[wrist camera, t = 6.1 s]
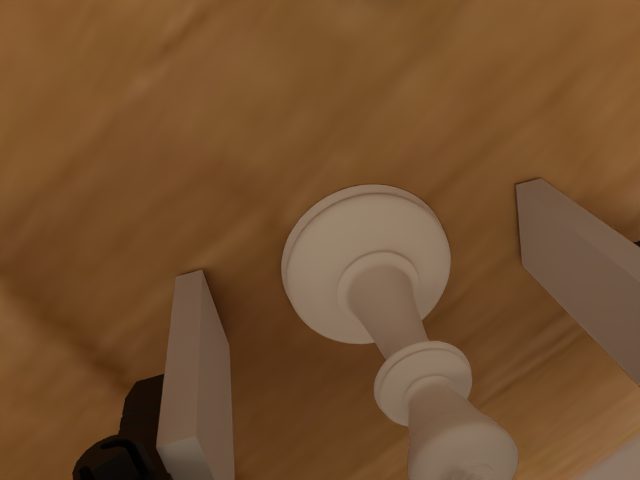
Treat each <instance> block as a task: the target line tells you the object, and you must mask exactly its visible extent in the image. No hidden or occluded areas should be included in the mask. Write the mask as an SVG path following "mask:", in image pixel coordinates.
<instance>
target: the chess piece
mask: <svg viewBox="0 0 640 480" xmlns="http://www.w3.org/2000/svg"><path fill="white" fill-rule="evenodd" d="M450 267H451V255H450V248H449V243H448V240H447V237H446V235H445V233H444V231H443V228H442V225H441V223H440V221H439V220H438V218H437V216H436V215H435V213H434V212H433V211H432V209H431V208H430V207H429V206H428V205H427V204H426V203H425V202H423V201H422V200H421V199H420V198H418V197H417V196H415V195H413V194H411V193H409V192H407V191H405V190H402V189H400V188H396V187H393V186H388V185H379V184H367V185H358V186H353V187H349V188H346V189H343V190H340V191H337V192H335V193H333V194H331V195H329V196H327V197H325V198H323V199H322V200H320V201H319V202H317V203H316V204H315V205H313V206H312V207H311V208H310V209H309V210H308V211H307V212H306V213H305V214H304V215H303V216H302V217H301V218H300V219H299V221H298V222H297V223H296V225H295V226H294V228H293V229H292V231H291V233H290V235H289V237H288V239H287V241H286V244H285V247H284V250H283V255H282V261H281V275H282V282H283V286H284V289H285V292H286V294H287V296H288V298H289V300H290V302H291V304H292V306H293V308H294V310H295V311H296V313H297V314H298V316H299V317H300V318H301V319H302V320H303V322H304V323H305V324H307V325H308V326H309V327H310V328H311V329H313V330H314V331H315V332H317V333H319V334H320V335H322V336H324V337H327V338H329V339H332V340H335V341H339V342H343V343H350V344H368V343H375V344H376V345H377V347H378V348H379V350H380V351H381V353H382V354H383V356H384V358H385V360H386V361H385V362H384V363H383V365H382V366H381V367H380V369H379V371H378V373H377V375H376V378H375V381H374V397H375V401H376V403H377V405H378V407H379V408H380V409H381V410H382V412H383V413H385V415H386V416H387V417H388V418H389V419H391V420H392V421H394V422H395V423H397V424H399V425H403V426H406V427H408V433H409V450H408V456H407V469H408V479H409V480H512V479H513V477H514V475H515V472H516V469H517V466H518V450H517V447H516V444H515V442H514V440H513V439H512V437H511V436H510V435H509V433H508V432H507V431H506V430H505V429H504V428H503V427H501V426H500V425H499V424H498V423H497V422H495V421H494V420H493V419H492V418H490V417H488V416H487V415H485V414H483V413H482V412H480V411H479V410H478V409H476V408H475V407H474V406H473V405H472V404H471V403H470V402H469V401H468V400H467V398H468V396H469V394H470V391H471V387H472V375H471V367H470V364H469V361H468V359H467V357H466V356H465V355H464V354H463V352H462V351H460V350H459V349H458V348H457V347H455V346H453V345H451V344H449V343H445V342H441V341H429V340H428V338H427V335H426V332H425V329H424V326H423V323H422V320H423V319H424V318H425V317H426V316H427V315H428V314H429V313H430V312H431V310H432V309H433V308H434V307H435V305H436V304H437V303H438V301H439V299H440V298H441V296H442V294H443V292H444V290H445V287H446V285H447V282H448V278H449V274H450Z"/></svg>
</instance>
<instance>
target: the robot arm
mask: <svg viewBox="0 0 640 480" xmlns="http://www.w3.org/2000/svg"><path fill="white" fill-rule="evenodd" d="M516 194H517V206H518V219H519V232H520V245H521V258H522V266H523V267H524V268H525V269H526V270H527V271H528V272H529V273H530V274H531V275H532V276H533V278H534V279H535V280H536V281H537V282H538V283H539V284H540V285H541V286H542V287H543V288H544V289H545V290H546V291H547V292H548V293H549V294H550V295H551V296H552V297H553V298H554V299H555V300H556V301H557V302H558V303H559V304H560V305H561V306H562V307H563V308H564V309H565V311H566V312H567V313H568V314H569V315H570V316H571V317H572V318H573V319H574V320H575V321H576V322H577V323H578V324H579V325H580V326H581V327H582V328H583V329H584V330H585V331H586V332H587V333H588V334H589V335H590V336H591V337H592V338H593V339H594V340H595V341H596V342H597V344H598V345H599V346H600V347H601V348H602V349H603V350H604V351H605V352H606V353H607V354H608V355H609V356H610V357H611V358H612V359H613V360H614V361H615V362H616V363H617V364H618V365H619V366H620V367H621V368H622V369H623V370H624V371H625V372H626V373H627V374H628V375H629V376H630V378H631V379H632V380H633V381H634V382H635V383H636V384H637V385H638V386H639V387H640V241H638V242H634V243H633V242H631V241H630V240H628V239H627V238H625V237H624V236H623V235H621V234H620V233H618V232H617V231H615V230H614V229H613V228H611V227H610V226H608V225H607V224H606V223H604V222H603V221H601V220H600V219H598V218H597V217H596V216H594V215H593V214H591V213H590V212H588V211H587V210H586V209H584V208H583V207H581V206H580V205H579V204H577V203H576V202H574V201H573V200H571V199H570V198H569V197H567V196H566V195H564V194H563V193H561V192H560V191H559V190H557V189H556V188H554V187H553V186H551V185H550V184H549V183H547V182H546V181H544V180H543V179H542V178H539V179H536V180H532V181H528V182H525V183H521V184H517V185H516ZM122 415H123V417H122V418H121V423H120V430H119V433H118V435H113V436H110V437H107V438H105V439H103V440H101V441H99V442H97V443H96V444H94V445H93V446H92V447H90V448H89V449H88V450H86V451H85V452H84V454H83V455H82V456H81V457H80V459H79V460H78V461H77V462H76V465H75V467H74V470H73V472H72V474H73V480H235V472H234V447H233V422H232V397H231V372H230V347H229V344H228V341H227V338H226V335H225V333H224V330H223V327H222V324H221V321H220V319H219V316H218V313H217V310H216V307H215V304H214V302H213V299H212V296H211V293H210V290H209V288H208V285H207V282H206V279H205V276H204V274H203V271H202V270H199V271H195V272H191V273H188V274H184V275H180V276H177V277H176V278H175V287H174V296H173V304H172V313H171V322H170V330H169V339H168V348H167V356H166V365H165V374H162V375H159V376H155V377H151V378H148V379H144V380H141V381H137V382H136V383H135V385H134V386H133V388H132V389H131V391H130V392H129V394H128V395H127V396H126V398H125V403H124V408H123V413H122Z"/></svg>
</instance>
